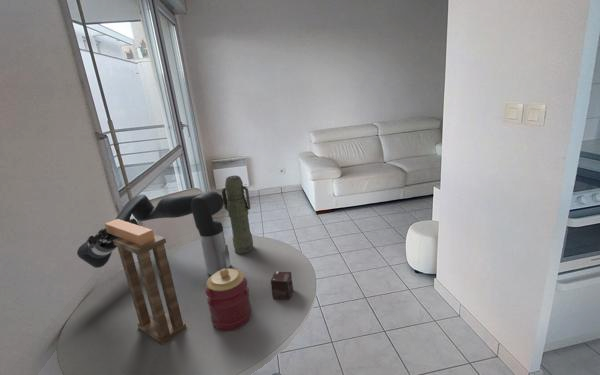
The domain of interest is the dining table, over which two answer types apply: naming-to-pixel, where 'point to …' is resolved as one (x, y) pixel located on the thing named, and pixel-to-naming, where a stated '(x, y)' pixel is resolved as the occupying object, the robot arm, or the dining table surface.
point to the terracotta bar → (130, 231)
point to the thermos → (238, 213)
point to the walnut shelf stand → (151, 288)
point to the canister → (228, 299)
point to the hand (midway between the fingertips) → (120, 226)
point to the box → (282, 285)
